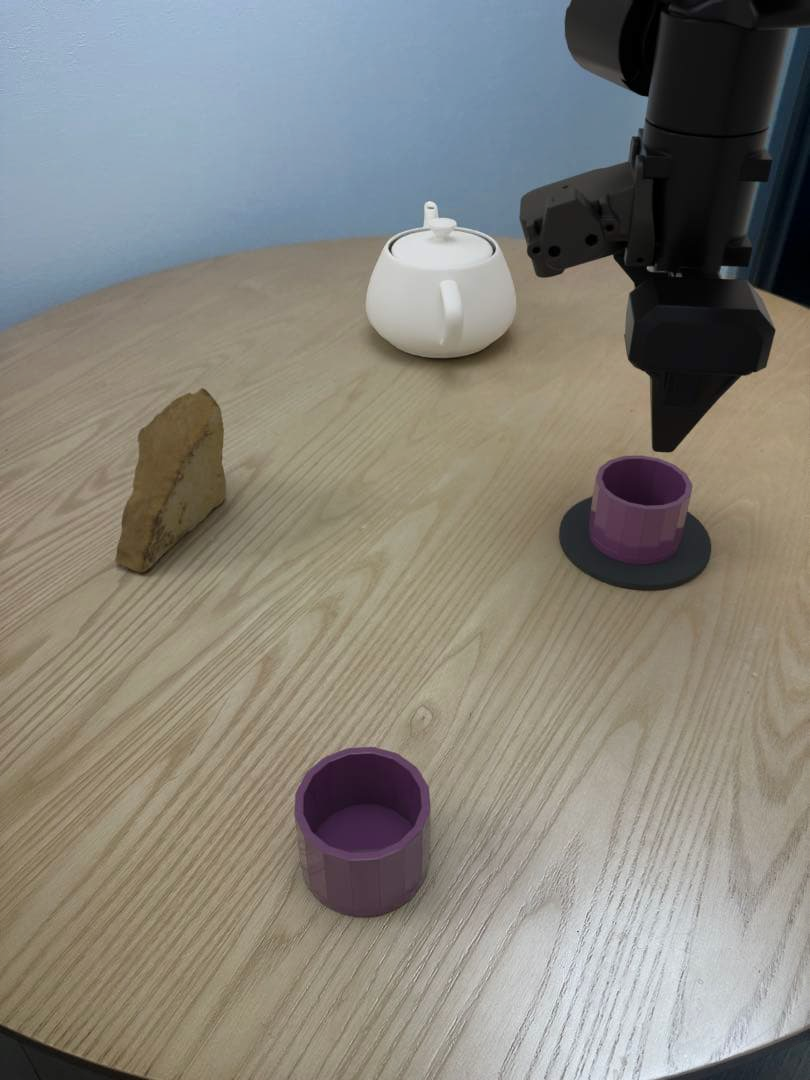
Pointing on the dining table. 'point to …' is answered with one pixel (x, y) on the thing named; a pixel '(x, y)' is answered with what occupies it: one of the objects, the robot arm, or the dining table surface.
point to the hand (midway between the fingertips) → (654, 407)
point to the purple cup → (639, 509)
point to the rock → (173, 479)
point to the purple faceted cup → (363, 830)
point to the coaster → (634, 576)
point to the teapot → (441, 290)
